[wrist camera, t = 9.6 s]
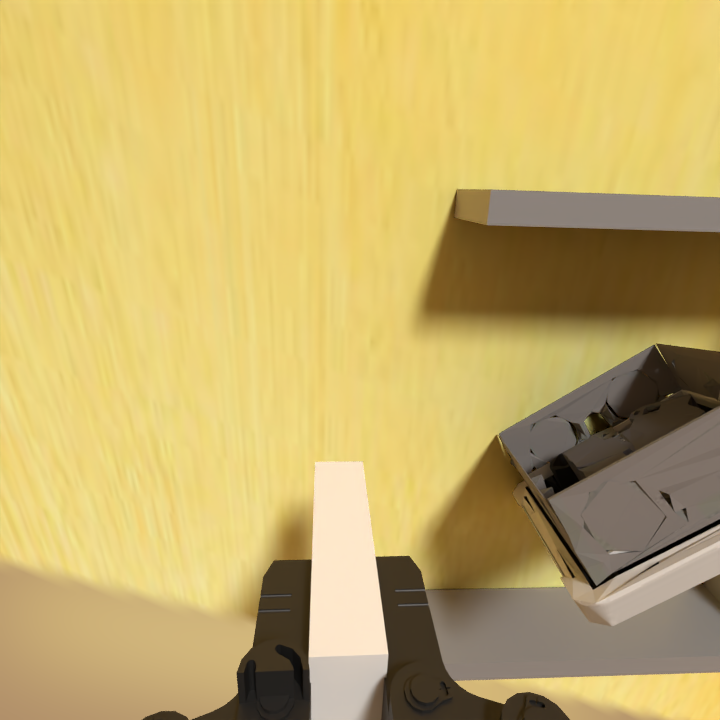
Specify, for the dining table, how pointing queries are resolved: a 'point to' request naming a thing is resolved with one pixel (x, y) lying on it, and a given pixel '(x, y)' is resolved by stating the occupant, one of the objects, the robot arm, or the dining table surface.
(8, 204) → the dining table surface
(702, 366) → the electrical switch
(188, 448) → the dining table surface
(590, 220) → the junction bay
